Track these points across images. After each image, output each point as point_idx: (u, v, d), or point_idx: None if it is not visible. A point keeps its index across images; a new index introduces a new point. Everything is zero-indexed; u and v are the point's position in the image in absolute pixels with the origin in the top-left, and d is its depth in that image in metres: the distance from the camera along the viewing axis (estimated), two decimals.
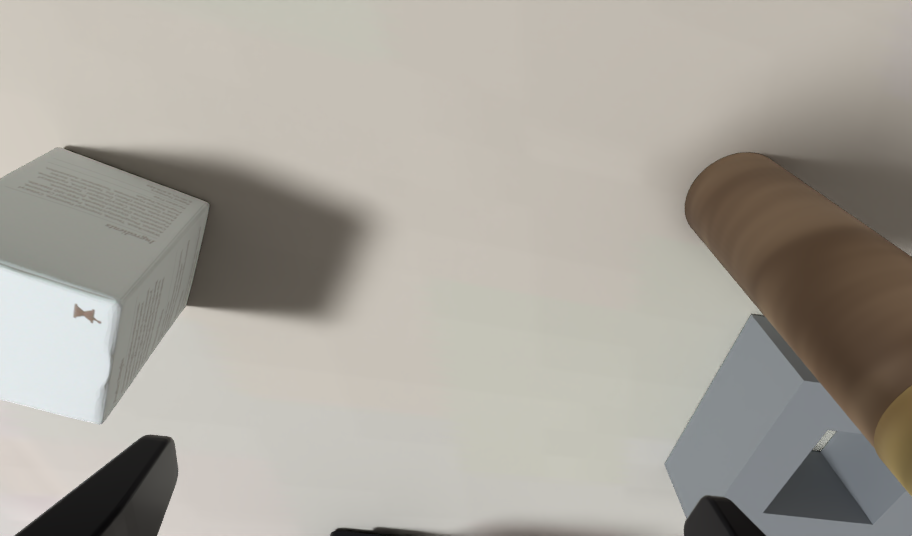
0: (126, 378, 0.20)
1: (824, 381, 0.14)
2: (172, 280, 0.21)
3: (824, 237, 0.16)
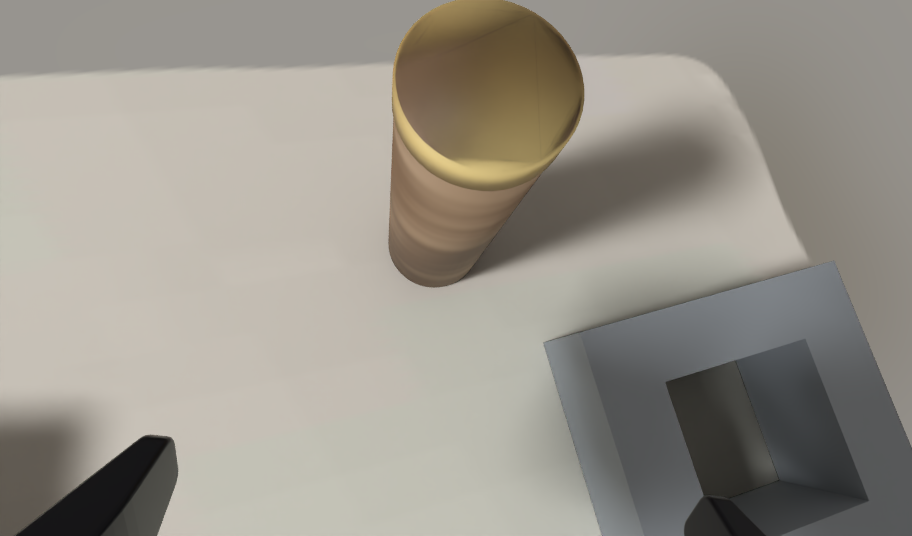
0: None
1: (420, 199, 0.14)
2: None
3: None
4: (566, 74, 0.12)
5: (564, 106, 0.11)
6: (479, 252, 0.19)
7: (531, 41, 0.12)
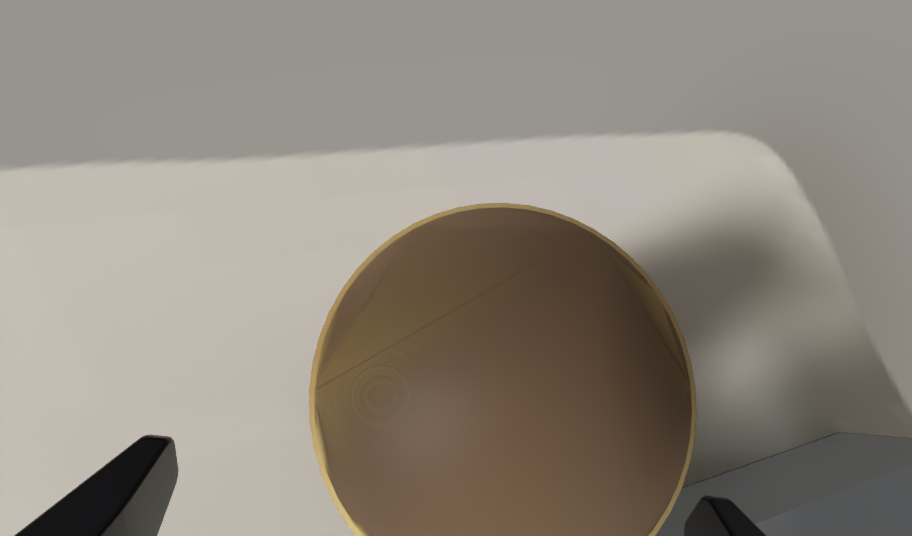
0: None
1: None
2: None
3: None
4: (659, 359, 0.06)
5: (659, 432, 0.06)
6: None
7: (589, 291, 0.06)
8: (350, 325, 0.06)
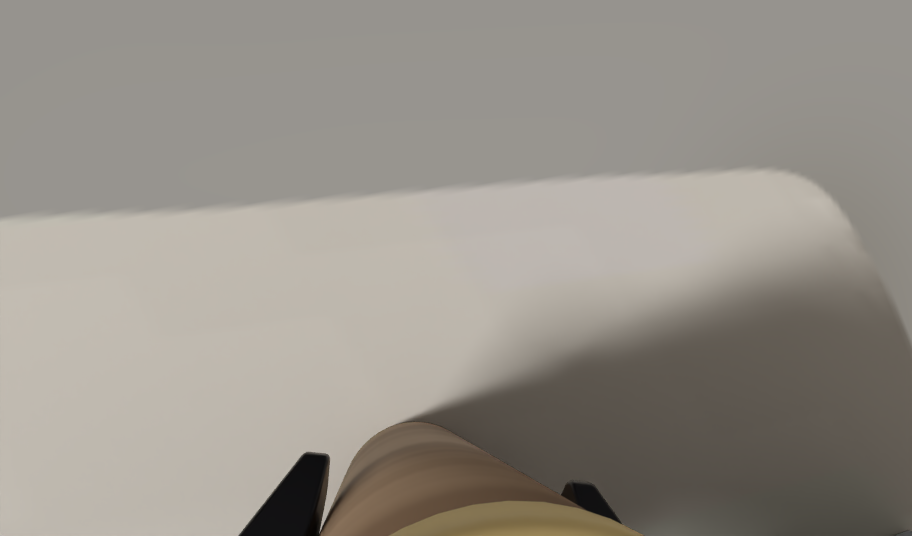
0: None
1: None
2: None
3: (343, 491, 0.09)
4: None
5: None
6: None
7: None
8: None
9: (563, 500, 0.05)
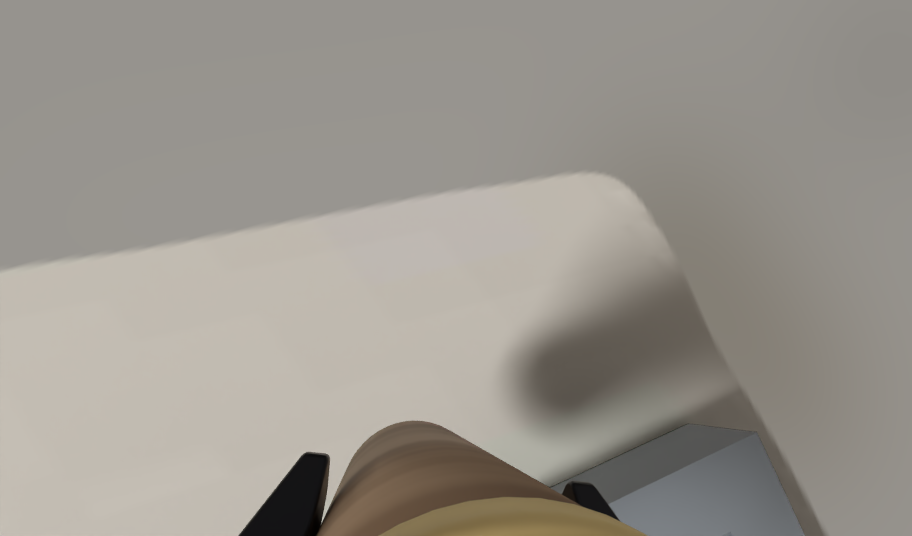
0: None
1: None
2: None
3: (342, 489, 0.09)
4: None
5: None
6: None
7: None
8: None
9: (560, 497, 0.05)
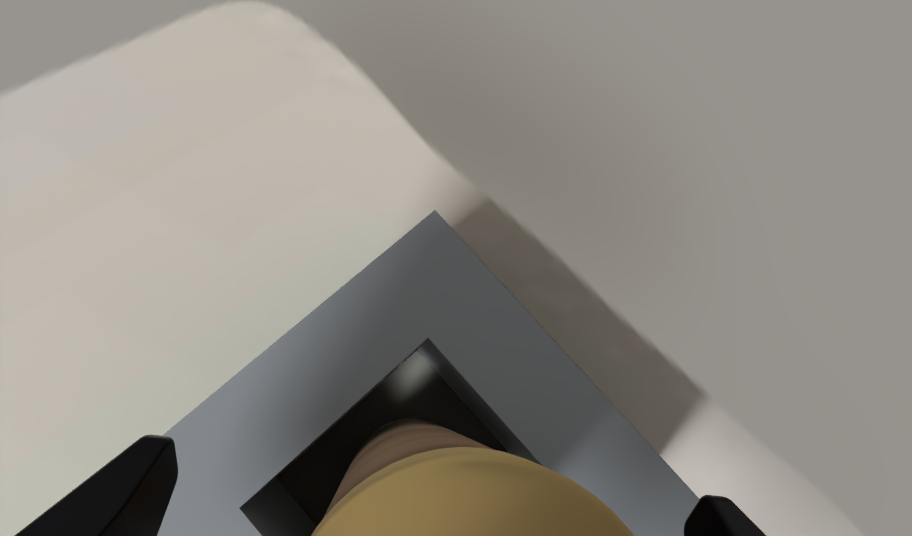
0: None
1: None
2: None
3: (352, 466, 0.11)
4: None
5: None
6: None
7: None
8: None
9: None
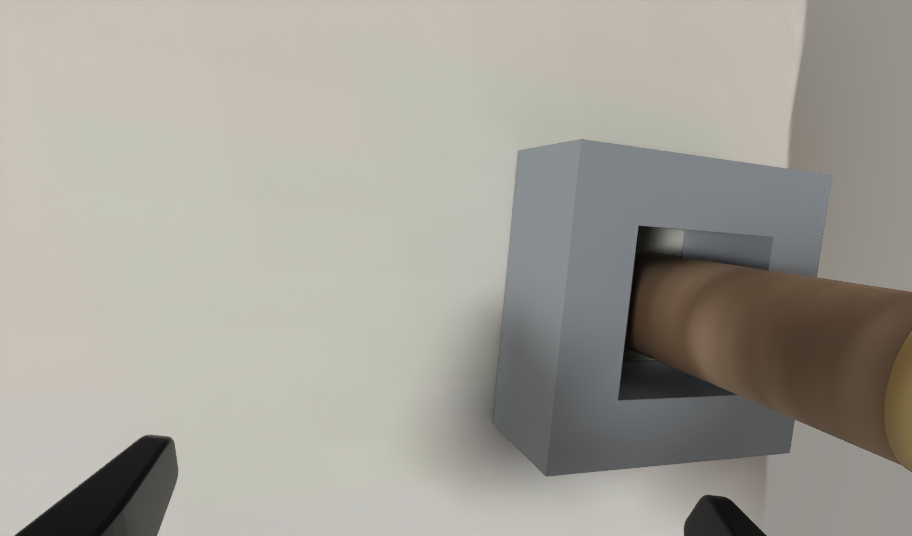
0: None
1: (796, 374, 0.13)
2: None
3: (752, 269, 0.17)
4: None
5: None
6: None
7: None
8: None
9: None
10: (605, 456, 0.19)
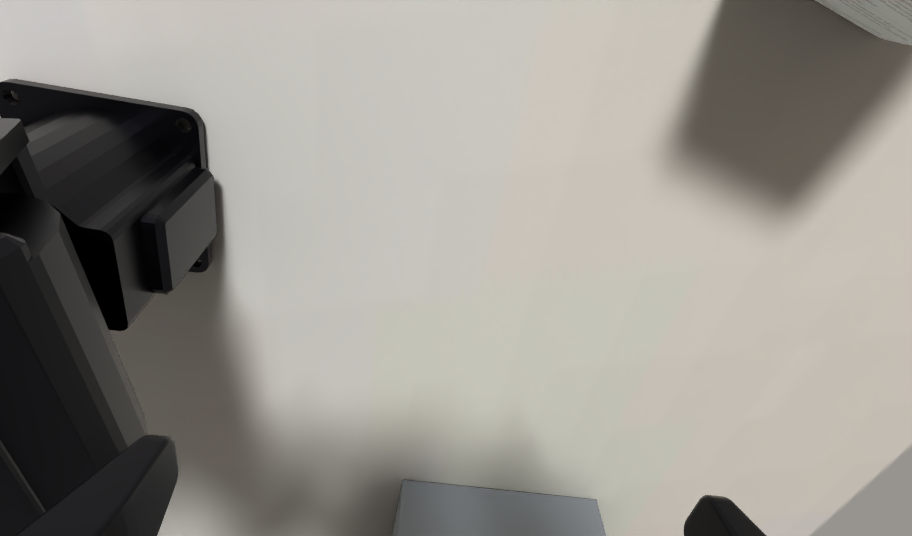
0: None
1: None
2: (899, 25, 0.15)
3: None
4: None
5: None
6: None
7: None
8: None
9: None
10: None
